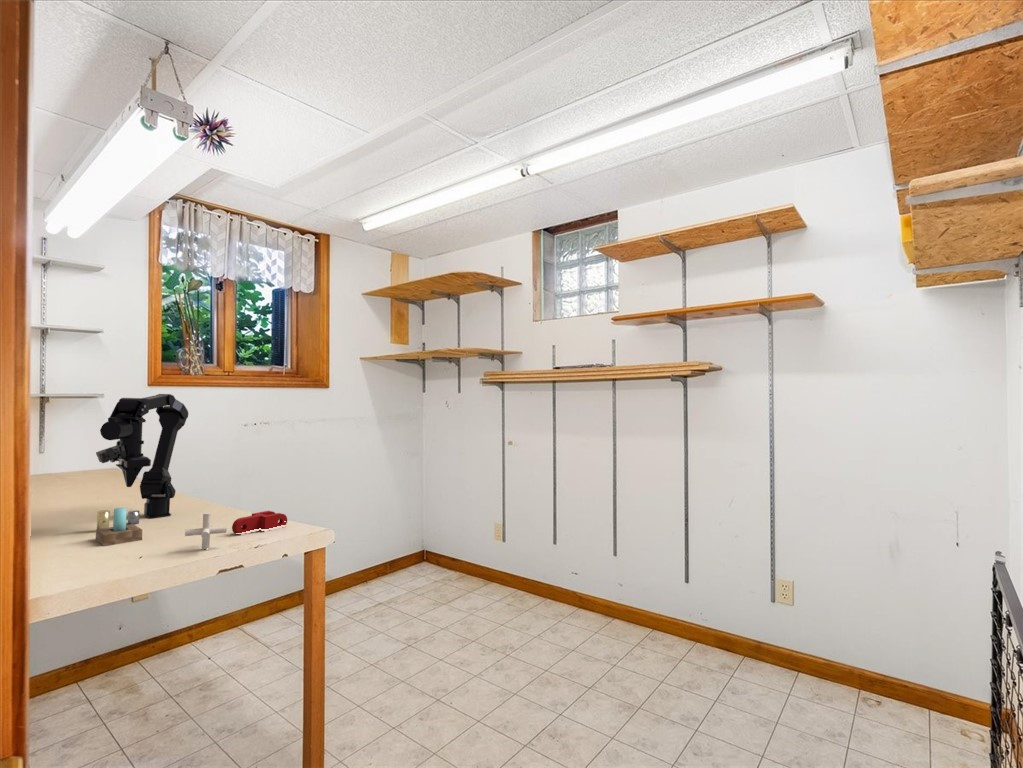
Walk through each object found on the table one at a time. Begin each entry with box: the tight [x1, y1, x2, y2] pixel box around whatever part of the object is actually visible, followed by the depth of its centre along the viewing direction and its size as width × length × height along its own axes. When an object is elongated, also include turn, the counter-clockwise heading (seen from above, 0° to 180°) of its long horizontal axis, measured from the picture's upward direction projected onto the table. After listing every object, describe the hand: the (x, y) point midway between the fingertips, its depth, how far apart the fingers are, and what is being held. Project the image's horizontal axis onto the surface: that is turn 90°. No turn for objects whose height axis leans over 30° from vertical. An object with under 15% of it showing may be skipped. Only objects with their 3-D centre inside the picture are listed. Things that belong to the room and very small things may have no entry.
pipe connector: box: [184, 511, 228, 550], centre depth 149 cm, size 10×10×10 cm
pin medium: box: [96, 509, 111, 529], centre depth 164 cm, size 3×3×6 cm
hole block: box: [95, 524, 143, 547], centre depth 155 cm, size 9×9×3 cm
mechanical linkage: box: [231, 510, 288, 534], centre depth 170 cm, size 16×7×5 cm, turn 149°
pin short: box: [127, 509, 140, 526], centre depth 174 cm, size 3×3×4 cm
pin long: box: [112, 507, 128, 532], centre depth 155 cm, size 3×3×9 cm
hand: (128, 486), depth 168 cm, fingers closed
